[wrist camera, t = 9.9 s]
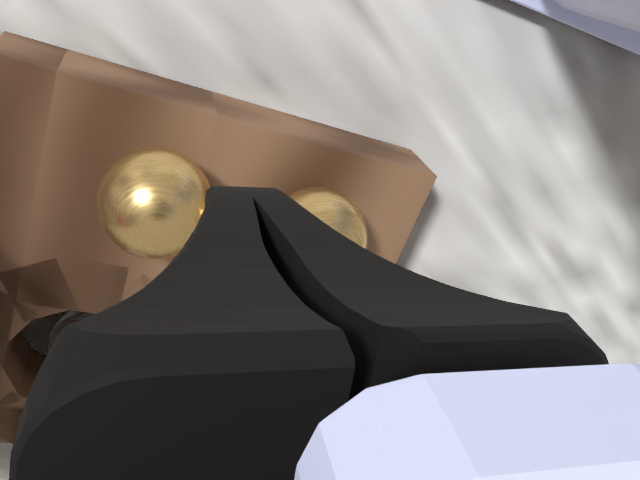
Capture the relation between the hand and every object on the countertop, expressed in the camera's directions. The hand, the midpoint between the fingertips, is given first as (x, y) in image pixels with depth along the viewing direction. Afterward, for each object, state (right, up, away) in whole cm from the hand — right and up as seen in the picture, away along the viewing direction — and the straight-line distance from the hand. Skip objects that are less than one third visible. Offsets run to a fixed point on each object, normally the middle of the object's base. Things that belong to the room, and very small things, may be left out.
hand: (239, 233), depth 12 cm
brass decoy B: (-3, +1, +6) cm, 6 cm away
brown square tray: (-4, -1, +11) cm, 12 cm away
